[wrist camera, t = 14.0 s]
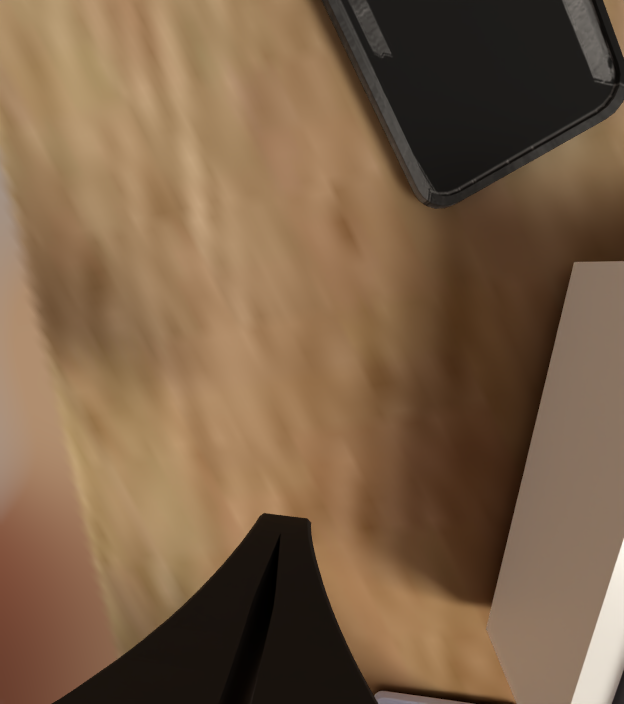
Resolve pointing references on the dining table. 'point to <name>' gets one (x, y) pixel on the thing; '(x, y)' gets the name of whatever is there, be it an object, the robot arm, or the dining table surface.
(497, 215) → the dining table surface
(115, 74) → the dining table surface
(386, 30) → the phone
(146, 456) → the dining table surface
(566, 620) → the tray
